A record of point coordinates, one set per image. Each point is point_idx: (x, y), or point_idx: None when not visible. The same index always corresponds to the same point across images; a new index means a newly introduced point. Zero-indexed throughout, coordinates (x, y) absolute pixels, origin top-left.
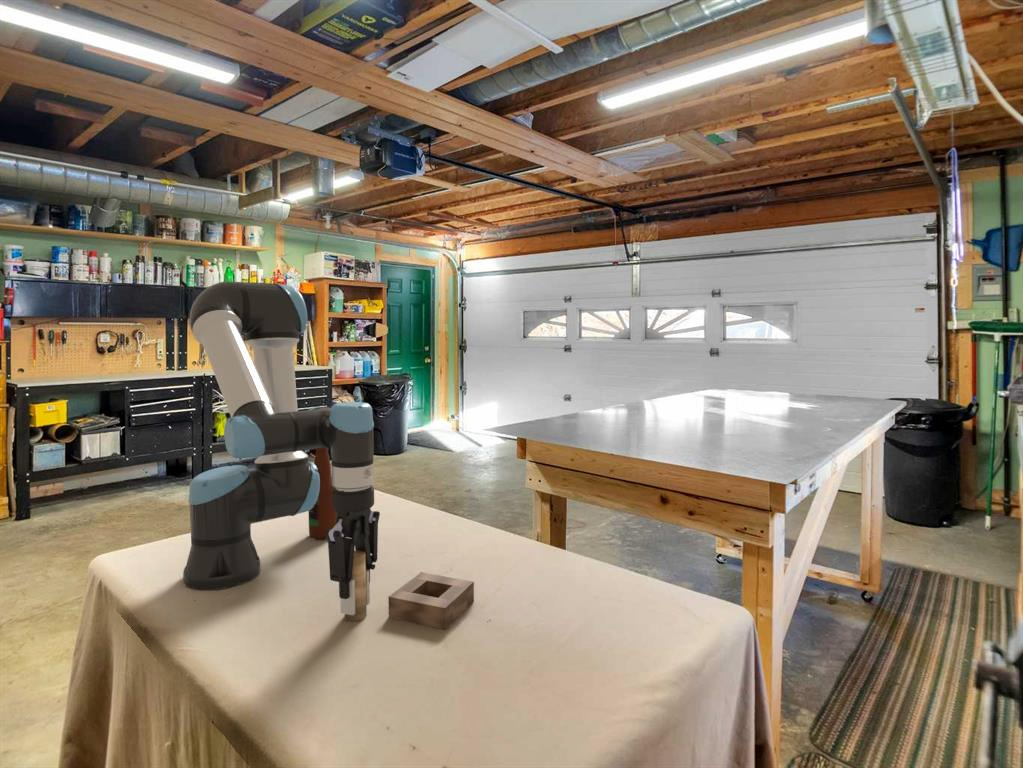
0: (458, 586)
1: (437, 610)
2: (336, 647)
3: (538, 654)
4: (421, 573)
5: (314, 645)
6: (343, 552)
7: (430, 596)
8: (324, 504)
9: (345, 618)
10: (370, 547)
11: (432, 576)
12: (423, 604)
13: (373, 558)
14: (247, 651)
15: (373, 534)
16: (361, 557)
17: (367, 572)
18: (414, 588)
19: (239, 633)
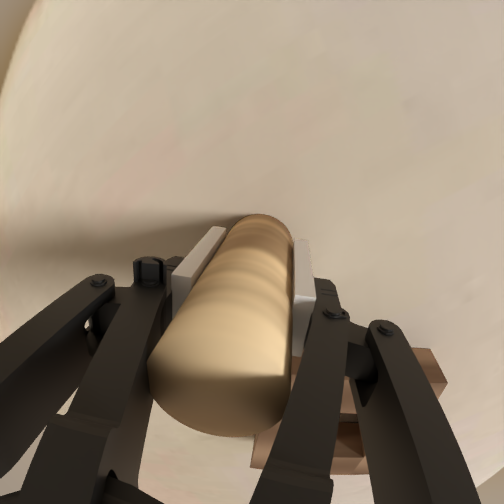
0: (357, 465)
1: (253, 452)
2: (112, 273)
3: (229, 499)
4: (439, 387)
5: (99, 220)
6: (43, 423)
7: None
8: None
9: (232, 227)
10: (369, 415)
11: None
12: (257, 439)
13: (350, 386)
14: (46, 95)
15: (378, 498)
16: (197, 427)
17: None
18: (341, 408)
19: (98, 14)
